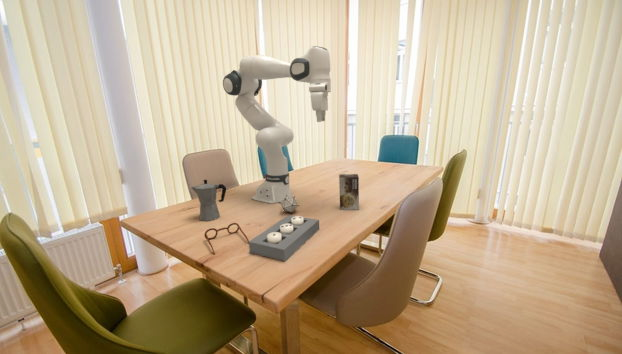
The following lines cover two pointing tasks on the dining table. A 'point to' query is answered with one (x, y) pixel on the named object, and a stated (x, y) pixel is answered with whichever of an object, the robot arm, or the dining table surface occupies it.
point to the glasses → (223, 229)
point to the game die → (289, 204)
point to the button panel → (284, 239)
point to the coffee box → (349, 191)
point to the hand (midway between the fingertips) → (321, 121)
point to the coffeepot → (209, 200)
